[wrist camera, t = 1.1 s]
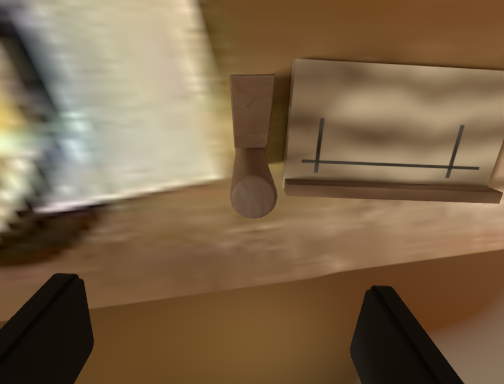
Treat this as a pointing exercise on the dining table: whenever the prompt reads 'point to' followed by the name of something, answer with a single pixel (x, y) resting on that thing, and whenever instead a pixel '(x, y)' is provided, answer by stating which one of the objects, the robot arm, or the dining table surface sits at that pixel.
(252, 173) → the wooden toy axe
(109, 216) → the dining table surface
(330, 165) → the marking board
